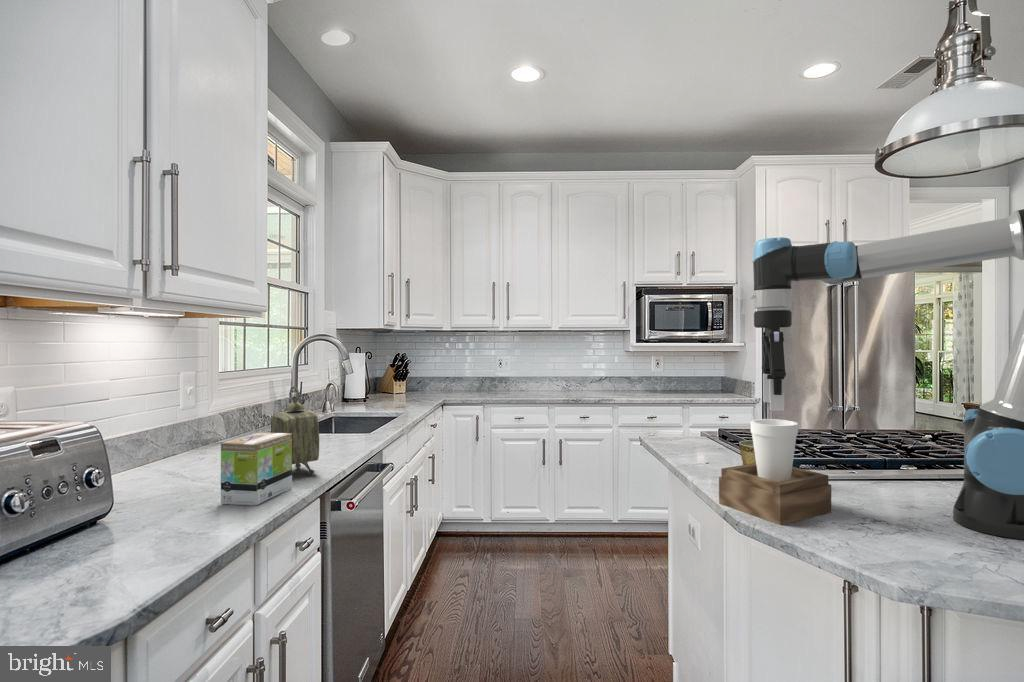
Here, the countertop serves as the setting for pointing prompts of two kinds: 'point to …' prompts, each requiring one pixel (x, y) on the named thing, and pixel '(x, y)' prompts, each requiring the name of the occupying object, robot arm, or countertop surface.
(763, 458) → the foam cup
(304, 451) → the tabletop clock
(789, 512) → the wooden box
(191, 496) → the countertop surface
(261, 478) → the tea box
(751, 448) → the ceramic cup
